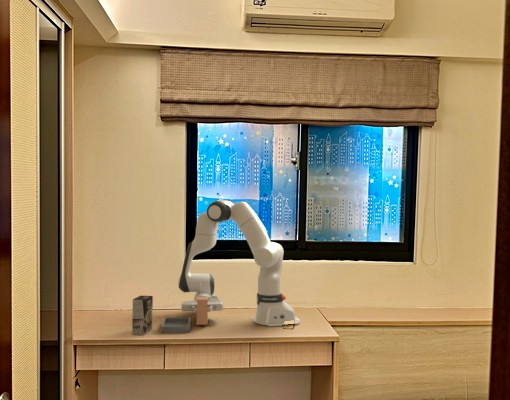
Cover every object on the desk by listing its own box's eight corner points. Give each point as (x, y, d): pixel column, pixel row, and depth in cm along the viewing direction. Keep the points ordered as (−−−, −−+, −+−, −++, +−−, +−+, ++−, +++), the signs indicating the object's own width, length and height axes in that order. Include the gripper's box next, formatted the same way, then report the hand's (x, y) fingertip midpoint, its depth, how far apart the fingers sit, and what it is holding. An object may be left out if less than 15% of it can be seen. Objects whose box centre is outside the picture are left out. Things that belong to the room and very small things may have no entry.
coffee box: (145, 335, 234) (145, 299, 234) (131, 334, 235) (131, 299, 235) (153, 329, 243) (153, 295, 242) (140, 328, 244) (140, 294, 244)
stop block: (207, 321, 253) (207, 297, 253) (207, 324, 248) (207, 299, 248) (197, 321, 253) (197, 297, 253) (196, 324, 248) (197, 299, 248)
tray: (190, 323, 255) (190, 317, 255) (189, 332, 239) (189, 326, 239) (163, 323, 254) (163, 317, 254) (161, 333, 238) (161, 326, 238)
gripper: (181, 297, 262) (180, 303, 249) (222, 296, 264) (223, 303, 250) (181, 309, 263) (180, 317, 249) (222, 309, 264) (223, 316, 251)
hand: (202, 310), depth 250 cm, fingers closed on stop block, 5 cm apart
